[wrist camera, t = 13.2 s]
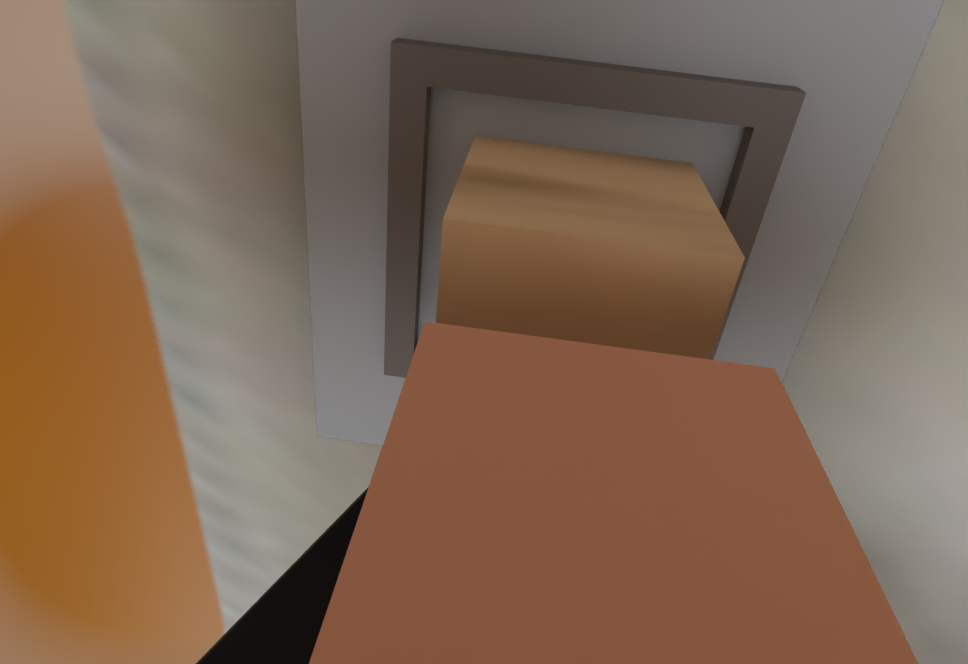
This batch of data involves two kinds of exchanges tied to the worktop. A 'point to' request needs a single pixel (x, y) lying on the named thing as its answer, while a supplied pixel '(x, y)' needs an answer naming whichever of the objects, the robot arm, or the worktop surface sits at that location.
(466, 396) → the terracotta block
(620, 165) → the oak cube
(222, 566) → the worktop surface
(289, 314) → the worktop surface
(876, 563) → the worktop surface
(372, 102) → the grey flat square plate
